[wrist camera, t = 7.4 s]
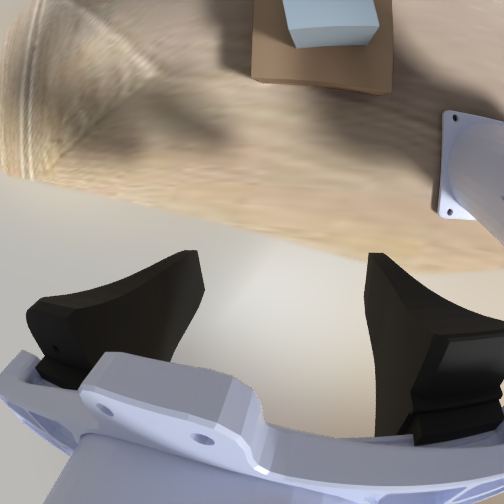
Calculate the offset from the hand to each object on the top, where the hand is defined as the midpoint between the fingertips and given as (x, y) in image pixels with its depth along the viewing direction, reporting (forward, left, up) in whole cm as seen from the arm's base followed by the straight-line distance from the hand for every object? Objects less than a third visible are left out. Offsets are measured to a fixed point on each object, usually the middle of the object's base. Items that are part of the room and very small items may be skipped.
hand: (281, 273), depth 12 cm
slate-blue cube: (-3, -12, -7) cm, 14 cm away
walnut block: (-2, -12, -11) cm, 16 cm away
